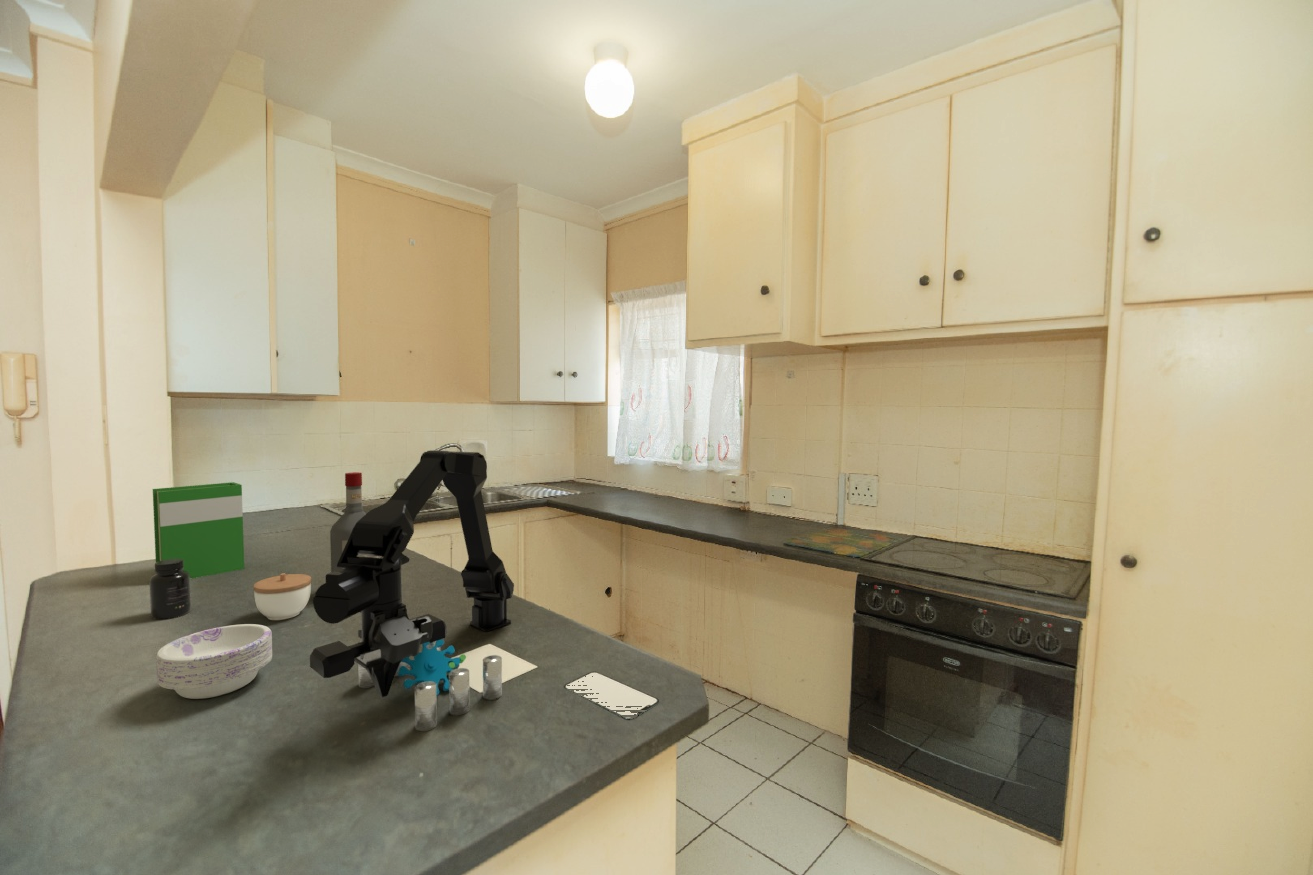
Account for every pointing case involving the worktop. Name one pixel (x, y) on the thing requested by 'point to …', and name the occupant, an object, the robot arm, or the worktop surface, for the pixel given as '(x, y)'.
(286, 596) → the lidded jar
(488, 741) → the worktop surface
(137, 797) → the worktop surface
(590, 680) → the smartphone
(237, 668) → the paper bowls
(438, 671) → the gear
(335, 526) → the liquor
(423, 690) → the posts
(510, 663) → the pad
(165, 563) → the supplement bottle
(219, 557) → the hardback book
